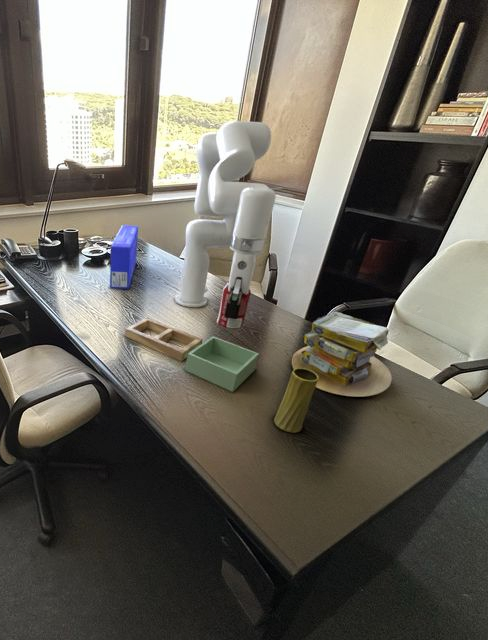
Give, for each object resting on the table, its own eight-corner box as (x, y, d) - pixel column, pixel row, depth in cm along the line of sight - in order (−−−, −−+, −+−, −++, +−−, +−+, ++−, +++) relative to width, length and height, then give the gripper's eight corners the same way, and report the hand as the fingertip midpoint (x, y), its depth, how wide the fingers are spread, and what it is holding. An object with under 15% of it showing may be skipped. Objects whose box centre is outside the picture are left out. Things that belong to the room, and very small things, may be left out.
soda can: (243, 333, 96) (253, 289, 90) (216, 330, 97) (225, 286, 91) (240, 322, 102) (250, 280, 96) (215, 319, 103) (224, 277, 97)
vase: (269, 415, 90) (285, 366, 83) (293, 415, 90) (311, 366, 83) (281, 433, 85) (299, 382, 77) (306, 432, 85) (327, 382, 78)
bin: (209, 351, 115) (212, 335, 113) (254, 370, 107) (259, 353, 105) (184, 370, 106) (187, 353, 103) (232, 392, 98) (237, 374, 95)
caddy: (146, 325, 130) (146, 317, 128) (201, 347, 118) (202, 339, 116) (124, 336, 122) (125, 328, 120) (181, 361, 110) (182, 352, 108)
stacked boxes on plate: (337, 406, 94) (362, 349, 86) (273, 356, 115) (288, 306, 106) (407, 391, 101) (437, 338, 93) (336, 347, 122) (355, 299, 113)
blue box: (120, 261, 191) (122, 224, 182) (136, 263, 191) (139, 226, 181) (108, 288, 158) (110, 245, 149) (128, 290, 157) (131, 246, 148)
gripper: (262, 255, 80) (244, 328, 89) (264, 238, 95) (248, 303, 104) (227, 250, 83) (212, 322, 92) (234, 234, 97) (221, 298, 106)
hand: (232, 311), depth 97 cm, fingers closed on soda can, 6 cm apart
